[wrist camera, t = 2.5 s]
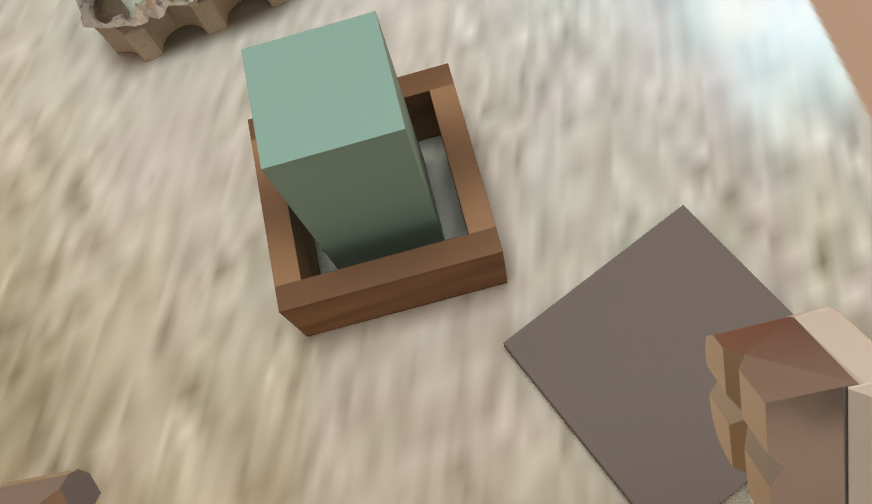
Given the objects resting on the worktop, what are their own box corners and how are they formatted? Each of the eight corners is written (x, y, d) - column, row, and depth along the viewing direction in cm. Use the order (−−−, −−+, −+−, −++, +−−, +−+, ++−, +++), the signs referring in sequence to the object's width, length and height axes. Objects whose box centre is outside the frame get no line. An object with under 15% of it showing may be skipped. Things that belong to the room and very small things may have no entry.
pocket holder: (507, 282, 30) (502, 251, 27) (307, 336, 31) (278, 312, 28) (457, 109, 34) (447, 63, 30) (276, 160, 34) (247, 119, 31)
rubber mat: (857, 387, 27) (863, 384, 27) (665, 546, 26) (667, 546, 26) (680, 211, 30) (683, 204, 30) (504, 346, 29) (503, 342, 29)
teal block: (447, 251, 31) (405, 128, 22) (345, 278, 31) (261, 169, 22) (424, 160, 33) (375, 11, 24) (327, 187, 33) (241, 49, 24)
